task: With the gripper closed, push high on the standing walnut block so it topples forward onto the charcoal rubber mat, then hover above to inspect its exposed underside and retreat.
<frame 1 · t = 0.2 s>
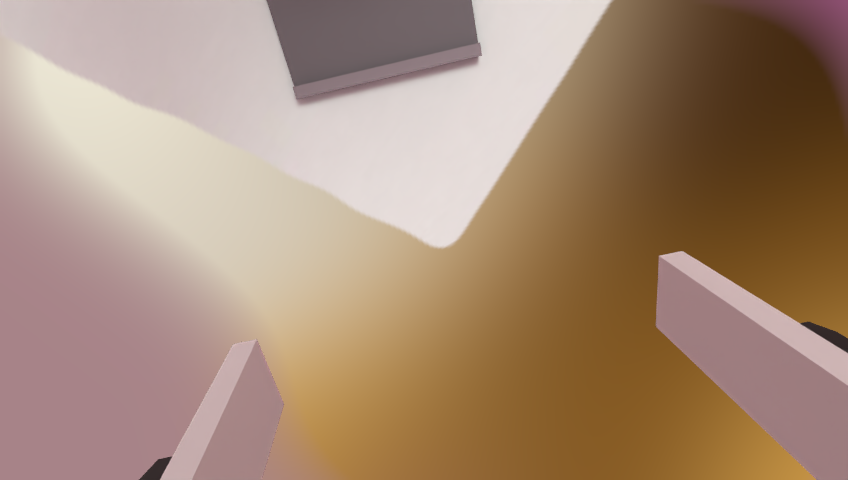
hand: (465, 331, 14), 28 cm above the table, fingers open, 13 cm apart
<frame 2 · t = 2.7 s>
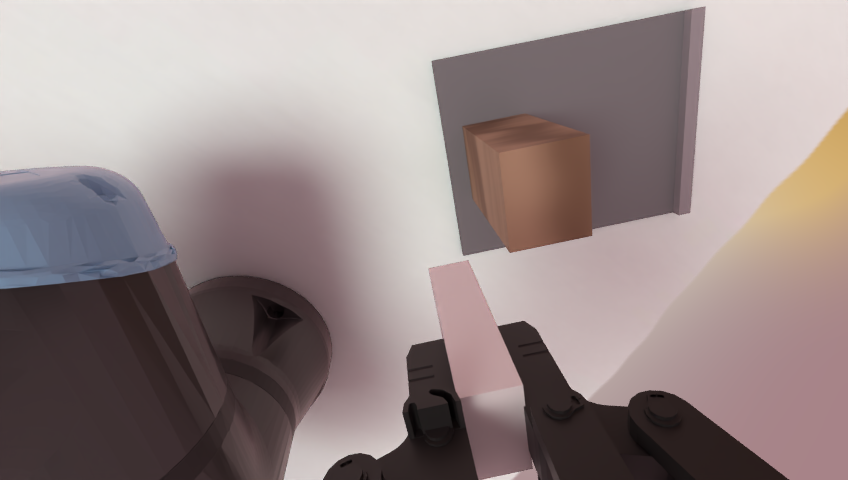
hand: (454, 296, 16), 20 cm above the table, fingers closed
mat: (568, 141, 34), on the table
walnut block: (497, 157, 34), resting on mat
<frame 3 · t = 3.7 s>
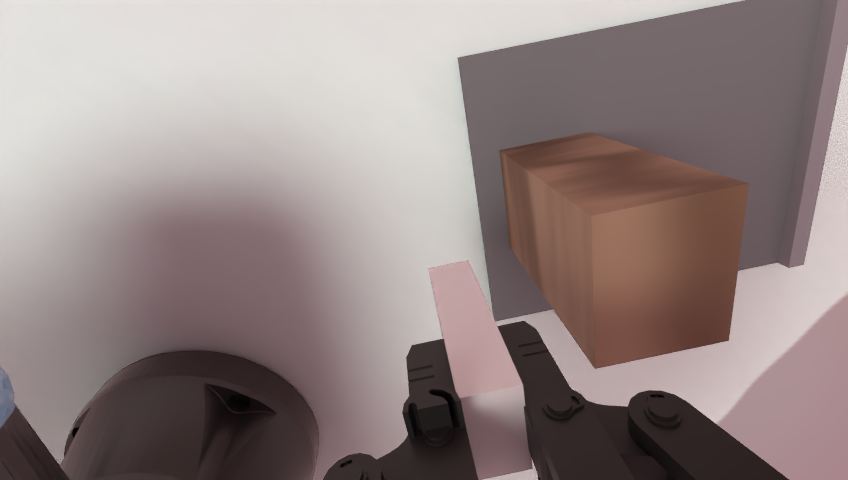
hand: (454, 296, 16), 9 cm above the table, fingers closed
mat: (644, 170, 25), on the table
walnut block: (547, 192, 24), resting on mat
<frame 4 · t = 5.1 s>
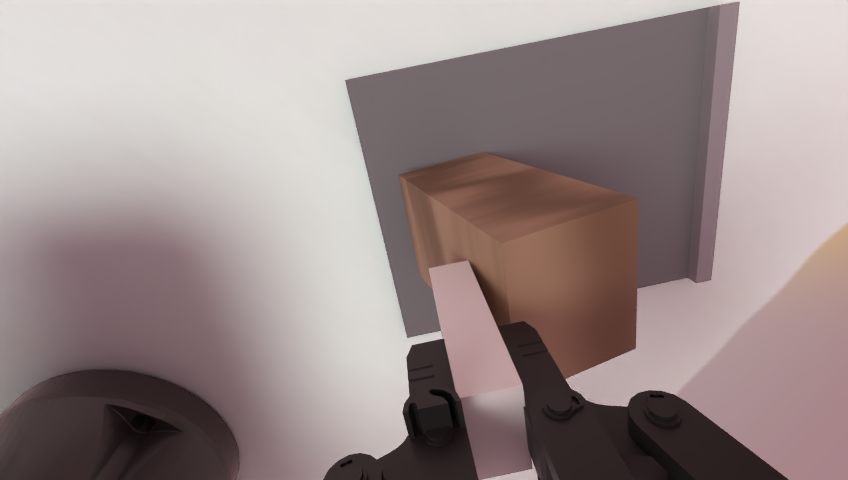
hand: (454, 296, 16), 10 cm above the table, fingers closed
mat: (545, 188, 25), on the table
walnut block: (450, 214, 24), point 1 cm above the table, tilted 14°, touching mat
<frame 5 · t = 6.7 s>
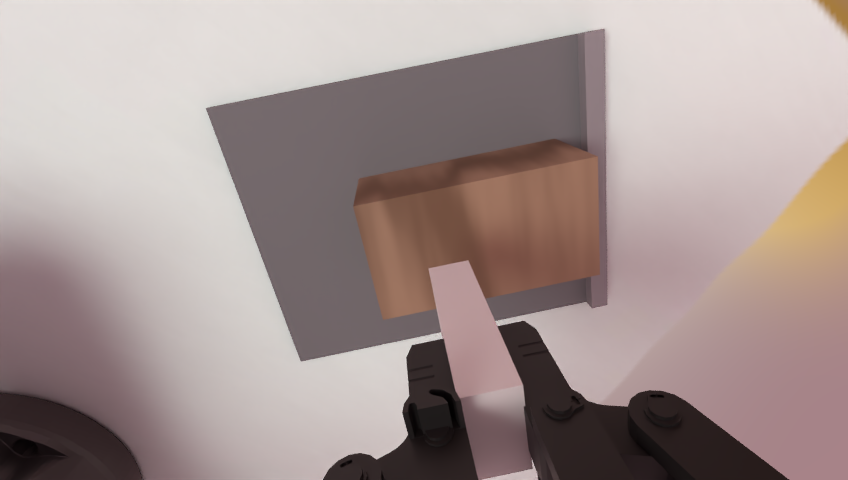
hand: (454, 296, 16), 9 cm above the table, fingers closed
mat: (429, 214, 24), on the table
walnut block: (370, 245, 22), point 3 cm above the table, tilted 90°, touching mat
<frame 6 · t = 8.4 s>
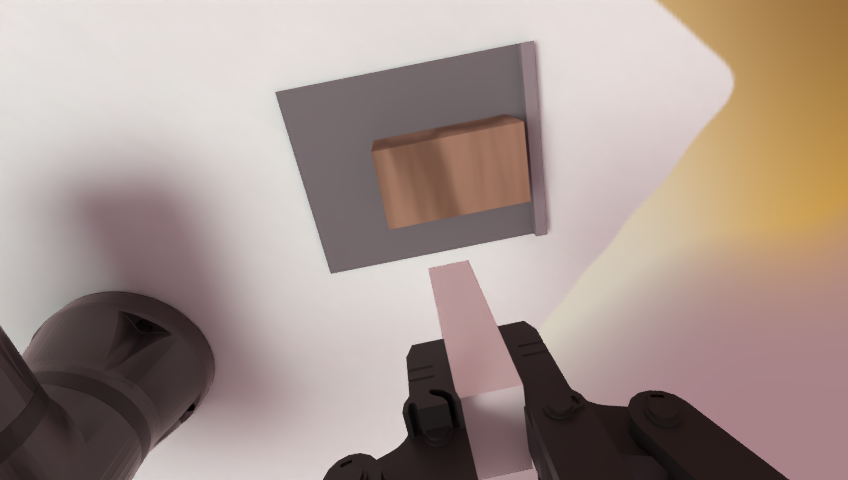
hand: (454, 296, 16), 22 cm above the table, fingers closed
mat: (421, 166, 36), on the table
walnut block: (381, 183, 33), point 3 cm above the table, tilted 90°, touching mat
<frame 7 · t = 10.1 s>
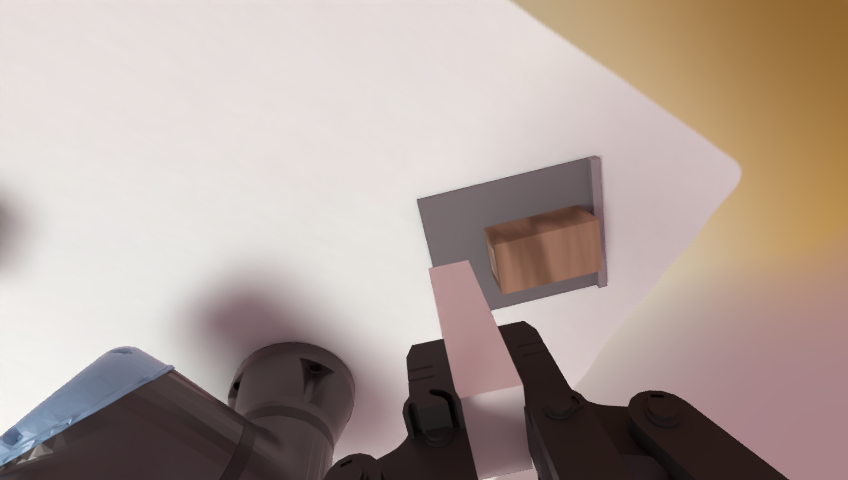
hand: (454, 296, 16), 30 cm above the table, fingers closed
mat: (515, 243, 49), on the table
walnut block: (492, 260, 46), point 3 cm above the table, tilted 90°, touching mat
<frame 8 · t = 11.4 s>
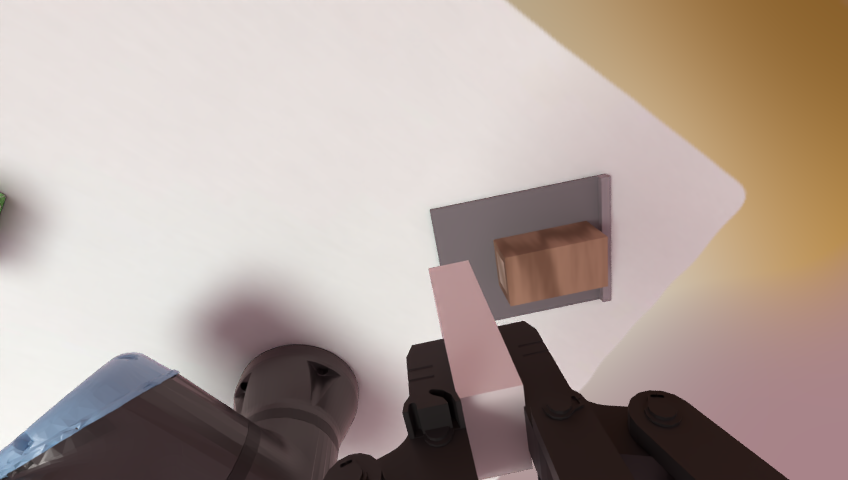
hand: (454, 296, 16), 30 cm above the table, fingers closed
mat: (523, 255, 50), on the table
walnut block: (501, 272, 47), point 3 cm above the table, tilted 90°, touching mat
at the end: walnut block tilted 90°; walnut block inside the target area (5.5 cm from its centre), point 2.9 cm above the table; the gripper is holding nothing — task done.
